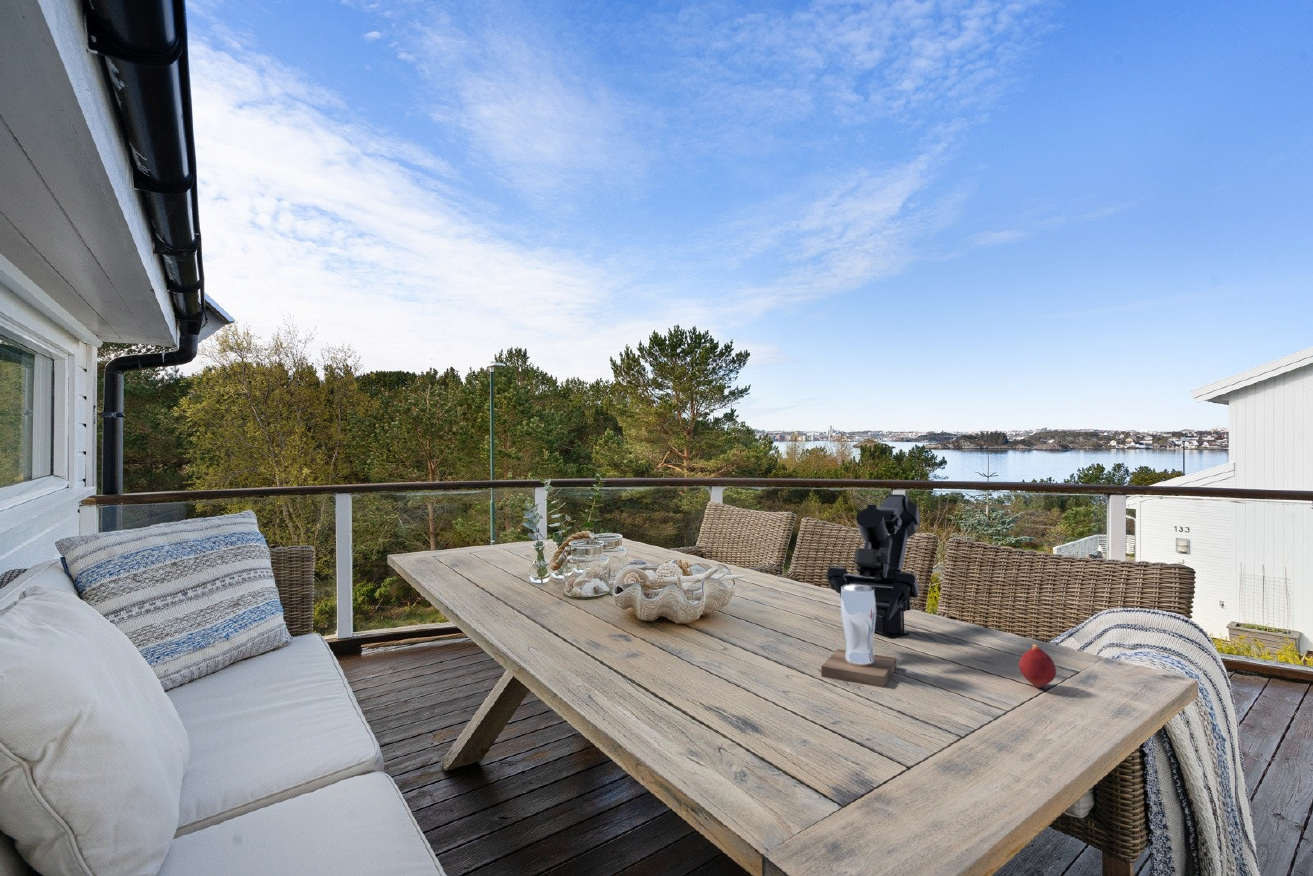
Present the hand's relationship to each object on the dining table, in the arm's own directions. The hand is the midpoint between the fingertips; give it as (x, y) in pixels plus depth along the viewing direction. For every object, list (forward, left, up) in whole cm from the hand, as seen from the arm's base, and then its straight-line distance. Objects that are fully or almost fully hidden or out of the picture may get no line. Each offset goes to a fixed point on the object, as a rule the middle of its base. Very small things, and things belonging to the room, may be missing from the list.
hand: (865, 615), depth 132 cm
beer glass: (+5, +3, -8) cm, 10 cm away
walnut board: (+5, +3, -10) cm, 12 cm away
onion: (-18, +25, -10) cm, 33 cm away
